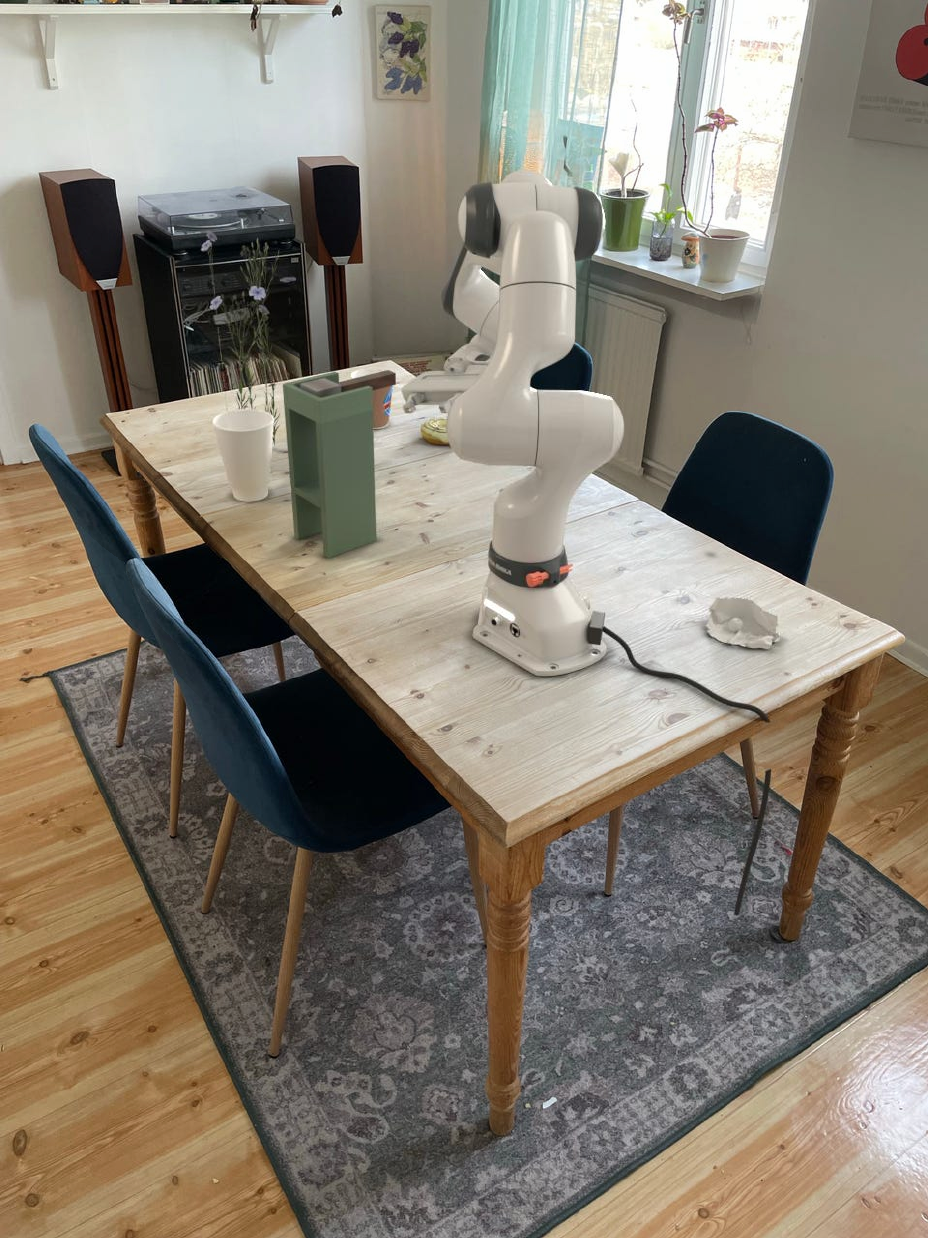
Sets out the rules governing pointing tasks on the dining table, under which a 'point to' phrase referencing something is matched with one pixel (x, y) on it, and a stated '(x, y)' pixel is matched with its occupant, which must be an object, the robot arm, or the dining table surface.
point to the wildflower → (258, 294)
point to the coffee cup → (377, 399)
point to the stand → (331, 465)
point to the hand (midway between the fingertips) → (424, 410)
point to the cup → (246, 451)
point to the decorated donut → (435, 431)
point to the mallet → (349, 384)
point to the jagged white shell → (742, 623)
